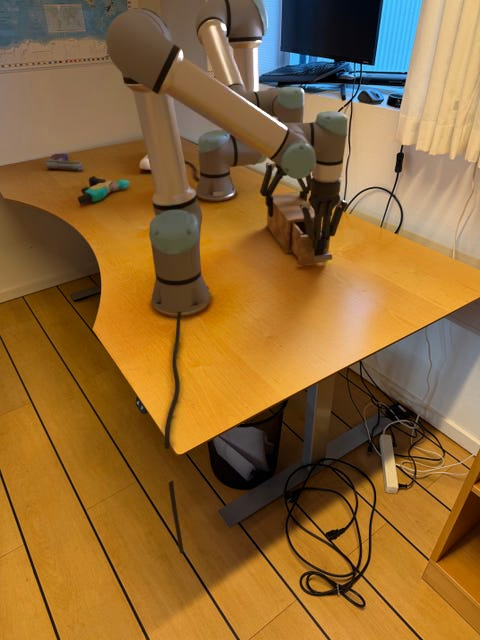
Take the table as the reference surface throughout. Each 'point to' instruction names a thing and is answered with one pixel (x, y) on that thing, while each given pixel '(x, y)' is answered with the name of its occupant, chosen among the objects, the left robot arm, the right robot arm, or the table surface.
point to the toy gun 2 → (100, 189)
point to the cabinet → (285, 217)
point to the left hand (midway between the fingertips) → (318, 258)
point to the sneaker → (145, 163)
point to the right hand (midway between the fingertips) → (285, 213)
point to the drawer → (305, 245)
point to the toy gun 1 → (62, 162)
